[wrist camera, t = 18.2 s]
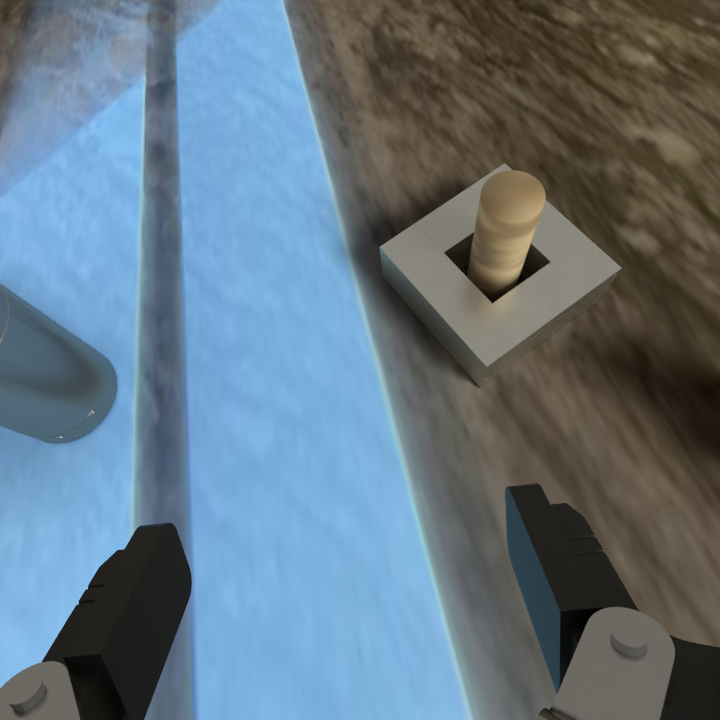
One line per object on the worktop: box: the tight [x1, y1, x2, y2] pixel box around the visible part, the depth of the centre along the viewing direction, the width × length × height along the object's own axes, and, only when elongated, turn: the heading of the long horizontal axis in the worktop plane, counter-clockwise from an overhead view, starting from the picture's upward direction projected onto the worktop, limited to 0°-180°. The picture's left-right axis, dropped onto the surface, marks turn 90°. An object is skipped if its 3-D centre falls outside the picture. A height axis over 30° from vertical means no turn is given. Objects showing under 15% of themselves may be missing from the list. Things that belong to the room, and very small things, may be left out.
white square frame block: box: [380, 164, 622, 388], centre depth 47 cm, size 14×14×5 cm
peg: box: [467, 170, 545, 304], centre depth 43 cm, size 4×4×13 cm
